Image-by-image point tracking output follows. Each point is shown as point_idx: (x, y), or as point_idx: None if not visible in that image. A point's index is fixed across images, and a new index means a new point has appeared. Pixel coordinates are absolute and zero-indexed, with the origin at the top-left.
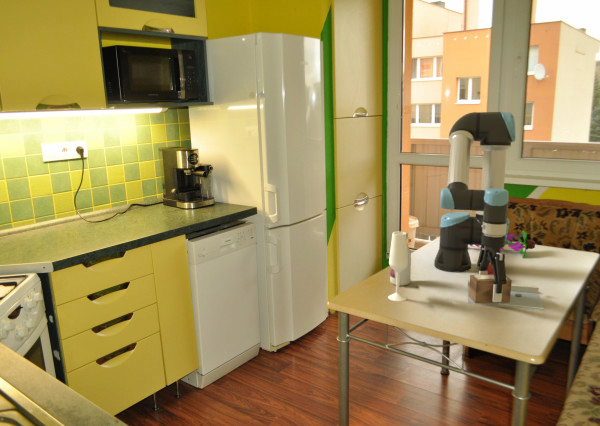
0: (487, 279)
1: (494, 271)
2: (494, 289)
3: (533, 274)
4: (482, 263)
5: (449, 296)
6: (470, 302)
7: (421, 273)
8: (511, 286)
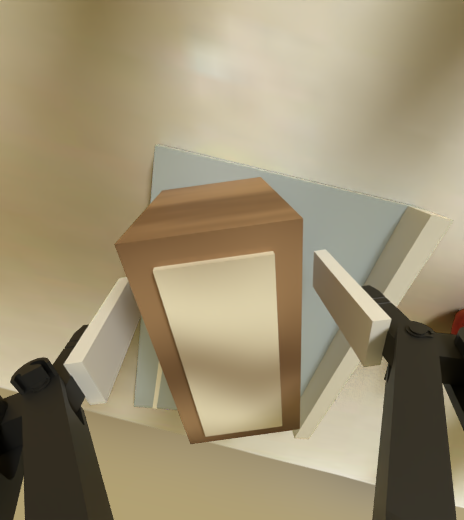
0: (175, 336)
1: (28, 487)
2: (87, 329)
3: (461, 427)
4: (402, 415)
5: (315, 55)
6: (166, 163)
7: None
8: (327, 377)
